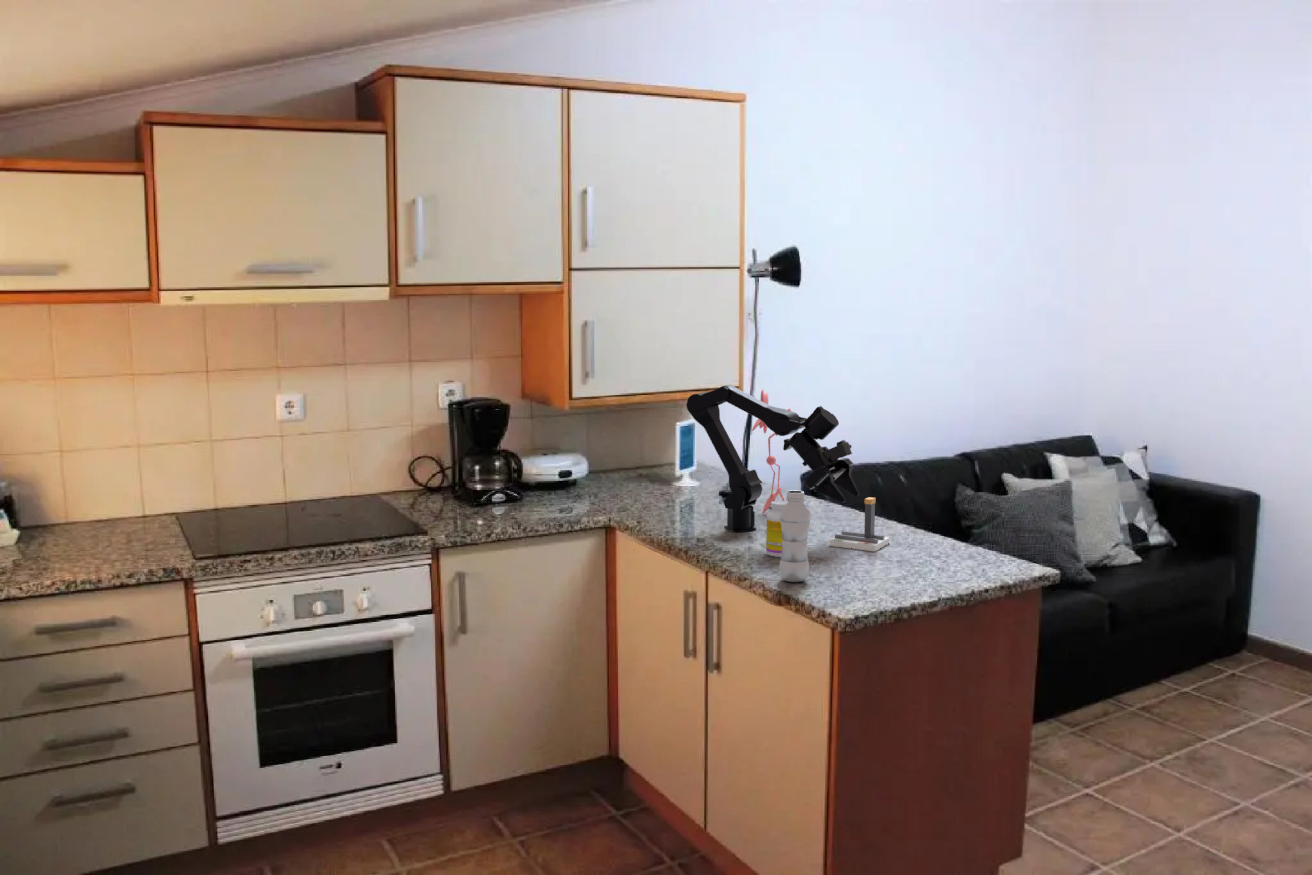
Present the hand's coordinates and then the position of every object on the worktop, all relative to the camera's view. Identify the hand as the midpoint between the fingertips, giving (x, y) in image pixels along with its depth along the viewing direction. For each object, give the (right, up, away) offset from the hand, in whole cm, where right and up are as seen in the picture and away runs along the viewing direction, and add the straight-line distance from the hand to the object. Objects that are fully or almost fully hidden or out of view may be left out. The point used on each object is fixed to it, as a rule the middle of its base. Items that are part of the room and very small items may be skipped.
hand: (851, 498), depth 277 cm
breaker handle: (+4, -10, -1) cm, 11 cm away
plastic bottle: (-18, -17, -33) cm, 42 cm away
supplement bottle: (-19, -13, -9) cm, 25 cm away
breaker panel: (+2, -12, 0) cm, 12 cm away
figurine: (-18, -6, +42) cm, 47 cm away
